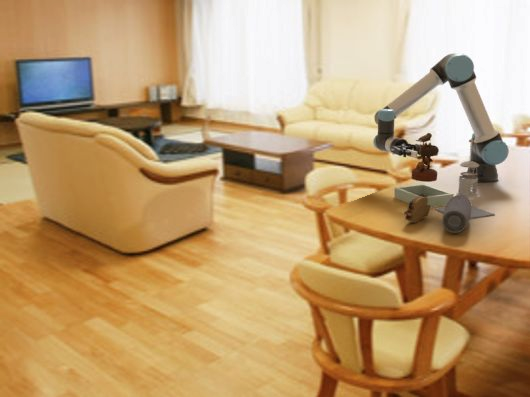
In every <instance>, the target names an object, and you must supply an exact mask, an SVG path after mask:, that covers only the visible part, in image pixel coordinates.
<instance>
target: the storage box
mask: <svg viewBox="0 0 530 397" xmlns="http://www.w3.org/2000/svg"><path fill="white" fill-rule="evenodd" d="M393 194H394V195H393V196H394V199H398V200H400V201H402V202H404V203H407V204H409V202H410V201H411V200H413V199H414V198H416V197H418V196H422V195H423V196H425V197H427V198H428V202H427V204H428V205H430V206H431V208H436V207H437V208H438V207H444V206H445V207H446V205H447V204H448V202H449V200H450V199H451V198H452V197H454V196H455V195H454V193H452V192H448V191H446V190H443V189H440V188H438V187H434V186H432V185H429V184H426V183H422V184H414V185H413V184H412V185H405V186H397V187H394V193H393Z"/></svg>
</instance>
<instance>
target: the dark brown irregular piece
mask: <svg viewBox="0 0 530 397" xmlns="http://www.w3.org/2000/svg"><path fill="white" fill-rule="evenodd" d="M432 136H433V135H432V133H431V132H427V133H426V134H425V135H422V136H420V137H419V138H418V139H415V141H416V142H420V144H419V145H418V146H417V147H416V151H417V158H416V159H417V160H421V161H418V163H417V164H416V166H415V168H413V169H412V170H411V179H412V180H414V181H416V182H422V183H423V182H425V183H426V182H428V183H431V182H435V181H437V180H438V171H437V170H435V169H434V168H431V163H432V162H434V161H433V159H432V158H431V157H437V156H436V155H437V154H438V155H439V152H440V151H439V147H438V146H437V145H434V144H432V142H429V141H431V138H432ZM426 166H427V167H426Z"/></svg>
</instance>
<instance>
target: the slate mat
mask: <svg viewBox="0 0 530 397" xmlns="http://www.w3.org/2000/svg"><path fill="white" fill-rule="evenodd" d="M445 208H446V206H445V207H439V208H438V207H437V208H435V209H434V210H435V211H437V212H439V213H442V214H443V213H444V209H445ZM492 216H495V213H494V212H490V211H487V210H485V209H482V208H479V207H477V206H474V205H471V216H470V220H473V219H478V218H484V217H485V218H486V217H492Z"/></svg>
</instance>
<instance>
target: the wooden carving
mask: <svg viewBox="0 0 530 397" xmlns="http://www.w3.org/2000/svg"><path fill="white" fill-rule="evenodd" d="M427 197H428V196H426V195H423V196H422V195H419V196H418V197H416V198H414V199H413V200H411V201H410V202H409V203H408V206H407V207H408V208H407V210H406V211H405V210H404V212H403V214H404V215H405V220H406V221H408V222H411V223H414V224H417V223H420V222H421V221H422V220H424V218H427V217H428V216H429V214H430V210H431V208H432V207H431V206H430V205H428V204H427V202H428V198H427Z"/></svg>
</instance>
